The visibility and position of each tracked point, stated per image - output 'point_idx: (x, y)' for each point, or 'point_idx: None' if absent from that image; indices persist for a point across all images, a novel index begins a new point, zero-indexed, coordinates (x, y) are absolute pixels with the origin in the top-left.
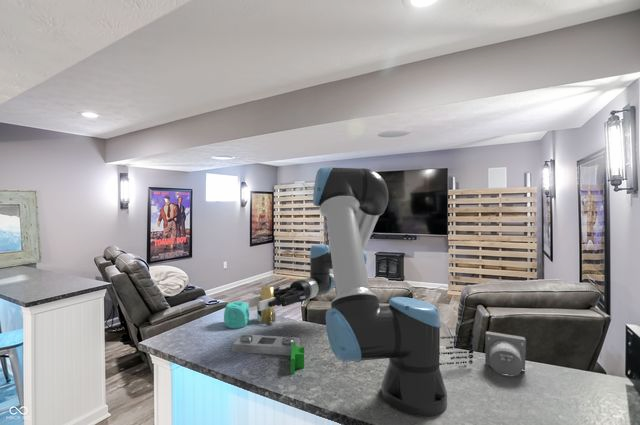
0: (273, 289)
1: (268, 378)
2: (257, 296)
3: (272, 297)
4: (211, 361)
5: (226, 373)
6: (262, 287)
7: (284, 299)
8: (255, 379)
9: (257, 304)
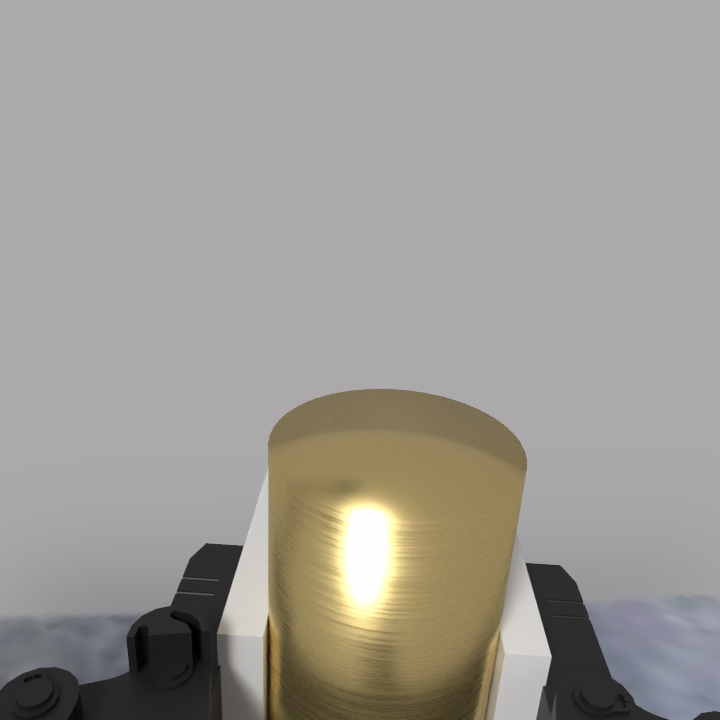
0: (277, 511)
1: None
2: (516, 542)
3: (269, 608)
4: None
5: None
6: (437, 402)
7: (8, 697)
8: (111, 637)
9: None
